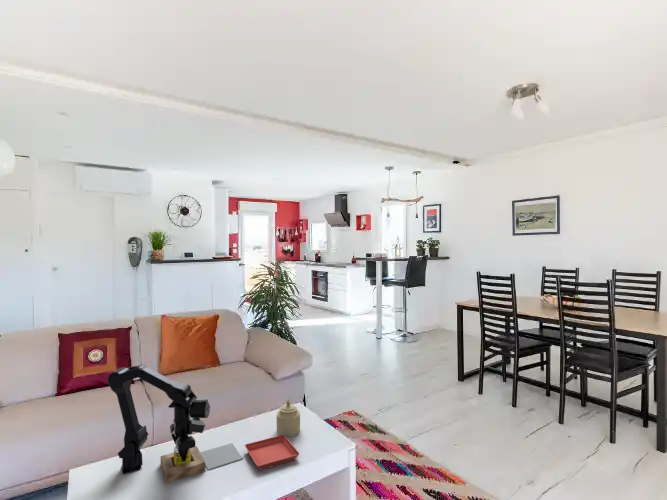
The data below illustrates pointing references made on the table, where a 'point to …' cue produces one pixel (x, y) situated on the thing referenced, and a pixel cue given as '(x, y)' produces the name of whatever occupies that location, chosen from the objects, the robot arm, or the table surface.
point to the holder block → (182, 466)
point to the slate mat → (220, 456)
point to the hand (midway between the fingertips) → (182, 456)
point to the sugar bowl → (288, 420)
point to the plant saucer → (272, 451)
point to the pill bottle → (178, 458)
